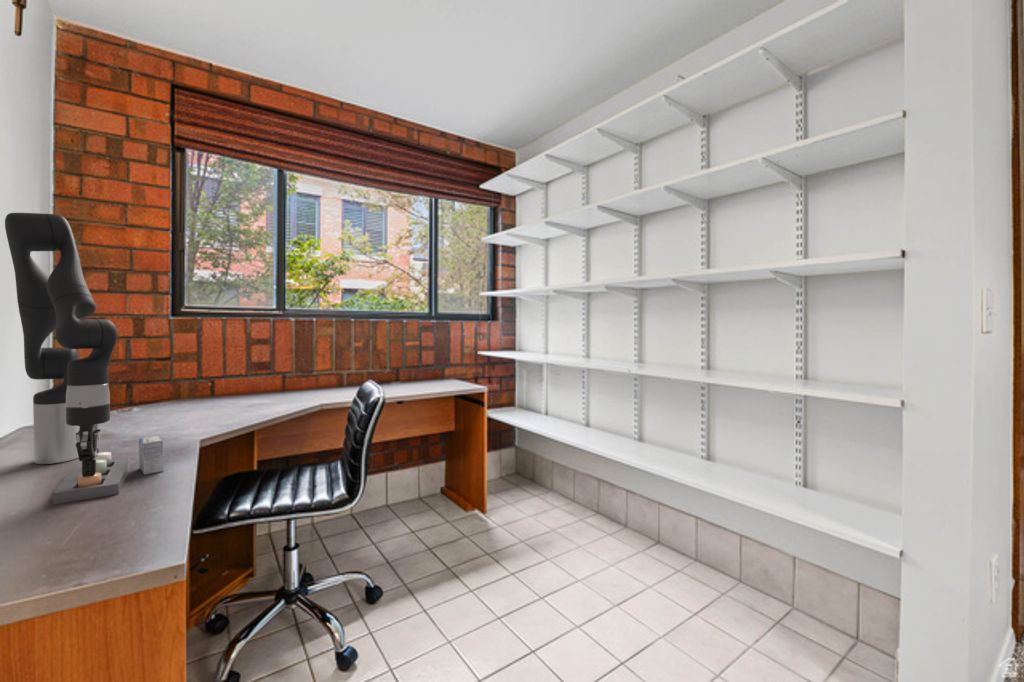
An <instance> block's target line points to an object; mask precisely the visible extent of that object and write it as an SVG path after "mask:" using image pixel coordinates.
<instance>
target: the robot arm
mask: <svg viewBox="0 0 1024 682" xmlns="http://www.w3.org/2000/svg"><path fill="white" fill-rule="evenodd" d="M4 229H5V234H6V235H5V236H6V238H7V239H6V240H7V242H8V247H9V252H10V255H11V261H12V264H13V268H14V269H13V270H14V277H15V286H16V299H17V307H18V312H19V317H20V322H21V329H22V335H23V350H24V351H23V352H24V356H23V357H24V359H23V360H24V368H25V373H26V375H27V377H28V378H29V379H31V380H60V379H62V382H61V383H60V384H58V385H57V386H55V387H52V388H49V389H46V390H42V391H39V392H37V393H35V394H34V395H33V396H32V398H33V399H32V401H33V402H32V403H33V405H32V408H33V409H32V411H33V414H32V415H33V458H34V461H33V462H34V464H36V465H50V464H57V463H65V462H69V461H72V460H75V459H78V461H80V462H81V465H82V476H83V477H88V476H94V475H95V473H96V458H97V456H98V455H97V454H98V453H100V445H101V436H102V428H99V426H98V425H99V424H105V423H107V422H109V421H110V420H111V399H110V398H111V395H110V394H111V392H110V387H109V365H110V362H111V359H112V356H113V352H114V349H115V346H116V344H117V342H118V336H119V332H118V329H117V327H116V325H115V324H114V323H113V322H112V321H111V320H109V319H104V318H103V319H101V318H97V319H96V318H95V319H94V318H88V317H90V316H92V315H94V313H95V312H96V310H97V306H96V303H95V301H94V298H93V296H92V293H91V291H90V289H89V287H88V285H87V283H86V280H85V276H84V273H83V268H82V264H81V260H80V255H79V252H78V248H77V243H76V240H75V237H74V233H73V230H72V228H71V225H70V223H69V222H68V221H67V219H66V218H65V217H64V216H62V215H60V214H54V213H41V212H40V213H39V212H9V213H8V214H6V216H5V219H4ZM32 252H59V253H60V257H59V260H58V263H57V264H56V266H55V267H54V268H53V270H52V271H51V274H50V275H49V274H48V273H47V272H45V271H44V270H43V268H41V266H39V265H38V264H37V263H36V261H35V260H34V259H33V257H32V256H31V253H32ZM53 332H54V336H55V337H54V338H55V339H56V342H57V343H58V345H60V346H61V347H42V346H43V343H44V342H45V341H46V339H47V338H48V337H49V336H50V335H51V334H52V333H53ZM85 349H86V350H88V349H89V350H91V349H92V350H91V352H90V354H89V355H87V356H86V357H83V358H80V354H79V352H78V350H85Z"/></svg>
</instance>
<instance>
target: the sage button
mask: <svg viewBox="0 0 1024 682" xmlns="http://www.w3.org/2000/svg"><path fill="white" fill-rule="evenodd" d="M106 472H107V461H106V460H104V459H101V460H96V473H101V474H104V473H106Z"/></svg>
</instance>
